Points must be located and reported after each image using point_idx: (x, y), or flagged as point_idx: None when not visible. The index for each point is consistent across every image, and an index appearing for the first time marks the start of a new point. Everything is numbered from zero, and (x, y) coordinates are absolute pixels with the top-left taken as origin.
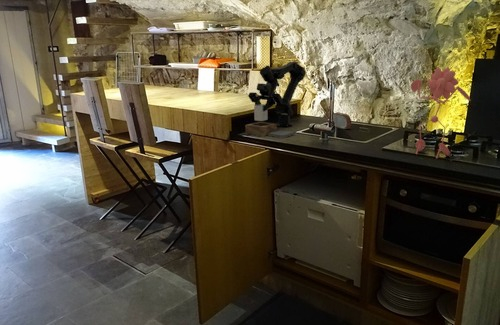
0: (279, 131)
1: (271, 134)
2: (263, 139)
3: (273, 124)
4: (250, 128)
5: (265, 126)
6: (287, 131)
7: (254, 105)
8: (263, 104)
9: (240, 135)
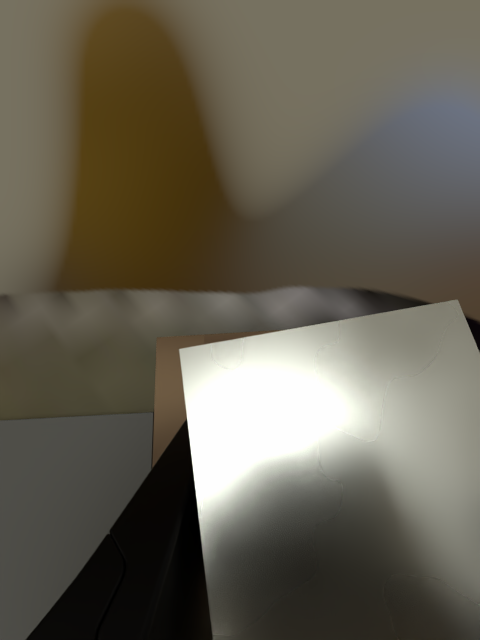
0: None
1: (113, 416)
2: (115, 297)
3: None
4: None
5: (160, 392)
6: (20, 632)
7: (442, 303)
8: (353, 622)
9: (372, 293)
